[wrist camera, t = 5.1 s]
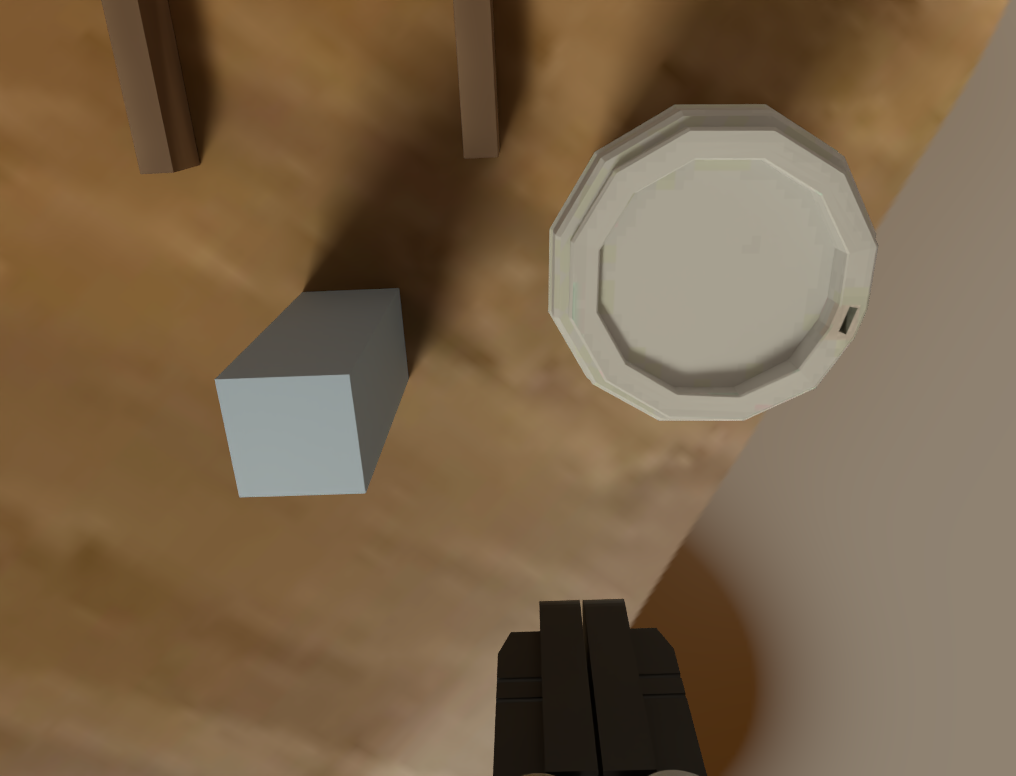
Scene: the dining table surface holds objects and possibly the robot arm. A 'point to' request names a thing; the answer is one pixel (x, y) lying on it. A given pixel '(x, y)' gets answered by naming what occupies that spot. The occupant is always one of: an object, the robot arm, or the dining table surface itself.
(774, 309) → the disposable coffee cup
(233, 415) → the slate block
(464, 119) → the walnut bay
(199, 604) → the dining table surface
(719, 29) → the dining table surface
